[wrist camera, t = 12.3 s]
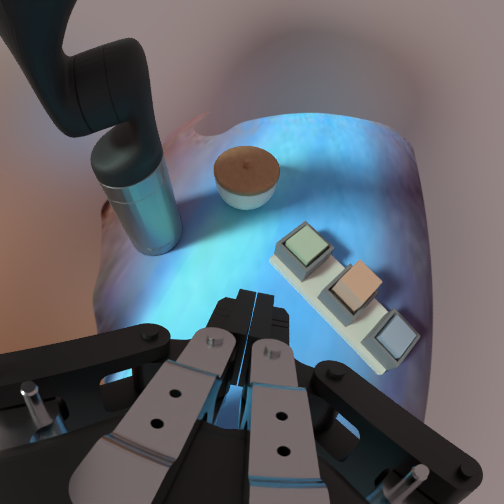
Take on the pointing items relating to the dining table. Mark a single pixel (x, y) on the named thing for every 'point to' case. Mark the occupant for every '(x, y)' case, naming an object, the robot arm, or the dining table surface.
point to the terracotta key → (357, 285)
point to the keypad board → (339, 303)
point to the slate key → (395, 336)
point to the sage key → (306, 246)
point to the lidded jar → (246, 176)
